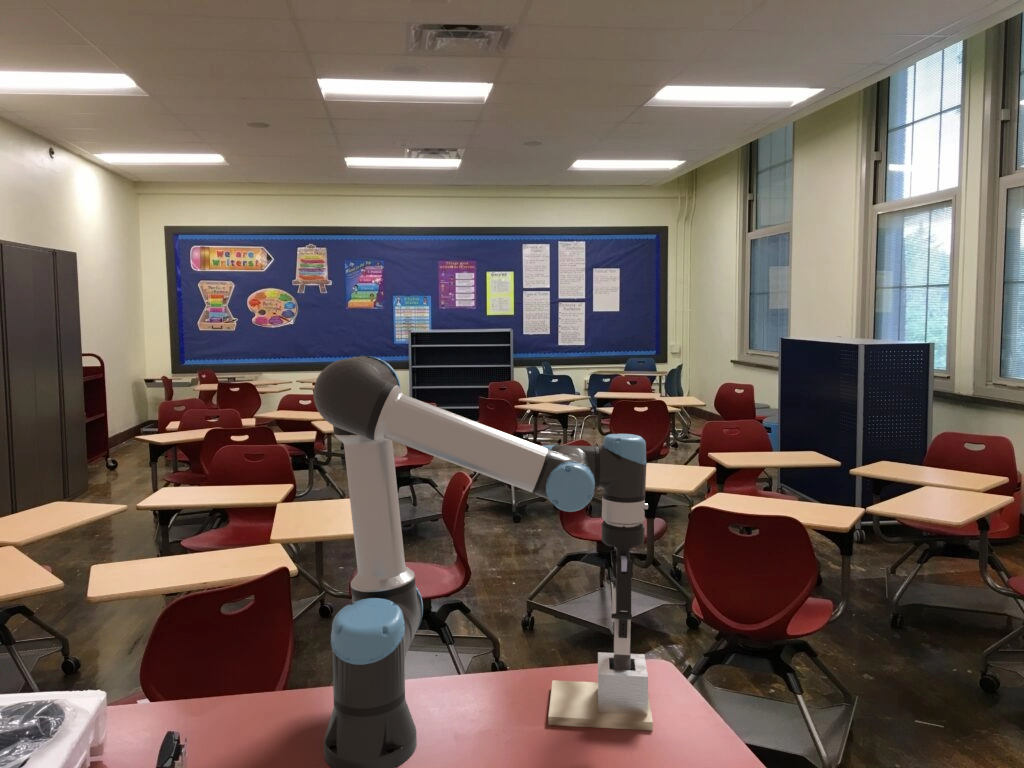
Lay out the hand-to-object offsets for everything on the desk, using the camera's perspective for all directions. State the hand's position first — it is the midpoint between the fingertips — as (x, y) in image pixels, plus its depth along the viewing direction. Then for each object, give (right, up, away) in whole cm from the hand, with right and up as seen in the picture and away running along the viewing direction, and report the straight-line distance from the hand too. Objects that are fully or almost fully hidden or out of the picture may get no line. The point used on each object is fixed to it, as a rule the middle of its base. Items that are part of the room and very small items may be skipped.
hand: (620, 636), depth 130 cm
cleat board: (-4, -14, +2) cm, 14 cm away
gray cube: (0, -12, +1) cm, 12 cm away
